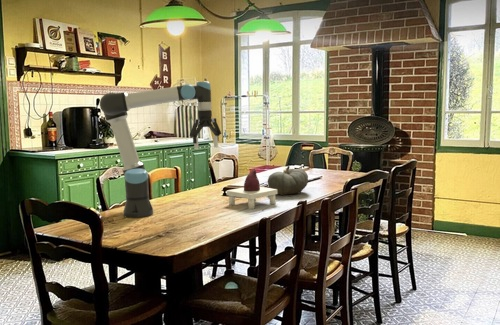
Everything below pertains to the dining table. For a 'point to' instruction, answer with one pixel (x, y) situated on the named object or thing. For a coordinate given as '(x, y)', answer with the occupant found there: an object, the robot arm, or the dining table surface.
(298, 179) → the gourd
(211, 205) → the dining table surface
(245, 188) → the vegetable
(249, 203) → the footstool
